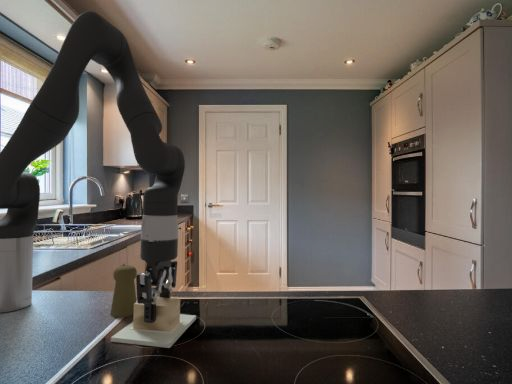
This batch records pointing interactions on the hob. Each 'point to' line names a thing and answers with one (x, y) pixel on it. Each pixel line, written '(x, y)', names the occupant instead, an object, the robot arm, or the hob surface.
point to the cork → (124, 292)
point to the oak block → (159, 315)
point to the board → (154, 334)
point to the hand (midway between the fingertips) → (157, 315)
